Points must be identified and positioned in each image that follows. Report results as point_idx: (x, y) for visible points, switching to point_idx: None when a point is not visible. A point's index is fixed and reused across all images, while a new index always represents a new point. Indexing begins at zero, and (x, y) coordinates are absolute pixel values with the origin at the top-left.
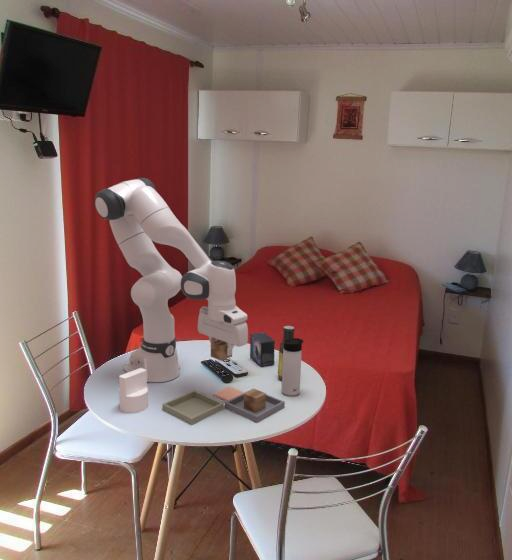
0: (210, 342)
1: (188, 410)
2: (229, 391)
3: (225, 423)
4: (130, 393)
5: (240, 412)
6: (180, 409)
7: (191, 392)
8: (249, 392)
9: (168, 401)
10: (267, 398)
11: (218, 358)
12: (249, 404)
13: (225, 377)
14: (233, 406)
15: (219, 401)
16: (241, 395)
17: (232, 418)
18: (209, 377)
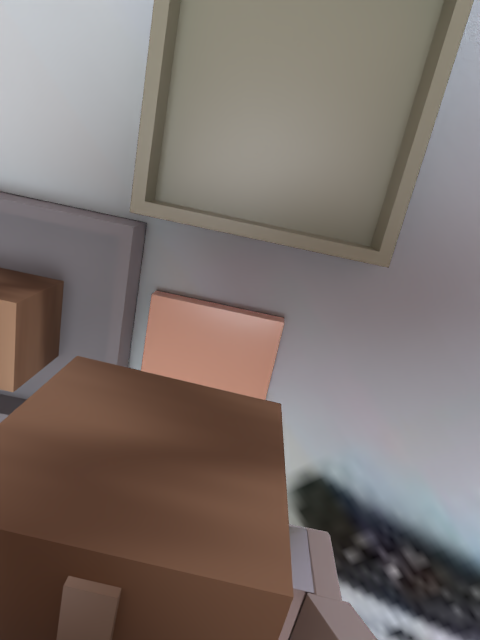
0: (373, 638)
1: (306, 71)
2: (223, 389)
3: (45, 81)
4: None
5: (16, 198)
6: (359, 53)
7: (389, 230)
8: (1, 333)
9: (467, 17)
10: (4, 404)
11: (125, 375)
12: (5, 279)
13: (345, 523)
14: (61, 211)
15: (165, 219)
16: (107, 351)
17: (51, 156)
18: (422, 490)
